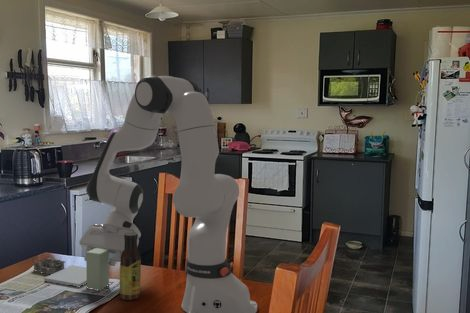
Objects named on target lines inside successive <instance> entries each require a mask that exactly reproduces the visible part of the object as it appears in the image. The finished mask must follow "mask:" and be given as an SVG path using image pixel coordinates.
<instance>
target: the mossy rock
mask: <svg viewBox="0 0 470 313" xmlns="http://www.w3.org/2000/svg"><path fill="white" fill-rule="evenodd" d="M32 262H34V265H33V271H34V270H40V271H39V273H40V272H47V273H46V275H47V274H54V273H56V272H58V271H60V270H63V269H65V263H66V260H61V259H58V258H56V259H55V258H54V257H48V258H44V259H43V260H42V259H41V260H40V261H39V262H38V260H35V259H32Z"/></svg>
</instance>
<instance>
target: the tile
mask: <svg viewBox="0 0 470 313" xmlns="http://www.w3.org/2000/svg"><path fill="white" fill-rule="evenodd" d="M43 281H44V282H45V281H47V282H46V283H51V282H53V283H52V284H56V283H60V284H59V285H62V284H66V285H65V286H67V285H73V286H78V287H79V286H81V285H83V284H85V283H87V272H86V267H85V266H81V265H80V266H79V265H74V264H73V265H69V266H67V267H66V268H65V267H64V269H63V270H60V271H58V272H56V273H54V274H52V275H46V276H45V277H43ZM85 285H86V284H85ZM83 286H84V285H83ZM78 287H77V288H78ZM81 287H82V286H81ZM79 288H80V287H79Z"/></svg>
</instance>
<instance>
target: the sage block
mask: <svg viewBox="0 0 470 313" xmlns="http://www.w3.org/2000/svg"><path fill="white" fill-rule="evenodd" d="M85 256H86V261H85V263H86V264H85V265H86V272H87V284H86V288H87V287H88V288H93V289H98V290H100V289H102V288H104V287H105V288H107V287H108V286H107V285H109V286H110V265H109V261H110V253H109V250H107V249H100V248H95V249H92V250H90V251H88V252H86V251H85ZM106 286H107V287H106ZM105 288H104V289H105ZM98 290H97V291H98ZM102 290H103V289H102ZM100 291H101V290H100Z"/></svg>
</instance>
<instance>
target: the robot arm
mask: <svg viewBox="0 0 470 313" xmlns="http://www.w3.org/2000/svg"><path fill="white" fill-rule="evenodd" d="M164 114H170V115H172V116H173V118H174V120H175V126H176V131H177V138H178V144H179V150H180V156H181V166H180V167H181V169H180V170H181V171H180V177H179V182H178V185H177V187H176V188H175V190H174V192H173V196H172V197H173V198H172V200H173V202H172V203H173V206H174V208H175V209H176V211H177V213H179V214H180V215H181V216H183V217H186V218H195V220H194V223H193V224H192V227H191V228H190V230H189V232H188V234H187V235H188V236H187V238H188V239H187V258H186V262H185V264H186V265H185V277H186V284H185V289H184V294H183V299H182V303H181V304H180V306H181V309H182V310H183V311H184V312H185V313H257V312H258V303H257V302H256V301H255V300H251V294H250V291H249V287H248V286H247V285H246V284H245V283H243V282H242V281H241V280H240V279H239V278H238V277H237V276H235V275H234V274H233V272H232V267H233V263H234V262H233V261H232V262H228V260H227V258H226V252H227V251H226V248H227V247H226V246H227V244H226V243H227V232H228V227H229V224H230V219H231V215H232V212H233V209H234V205H235V203H236V202H237V200H238V198H239V196H240V187H239V184H238V182H237V180H236V179H235V178H234V177H232V176H230V175H227V174H223V173H215V170H216V169H215V168H216V162H217V158H218V156H219V155H220V148H219V143H218V142H219V141H218V136H217V130H216V125H215V121H214V117H213V112H212V110H211V106H210V104H209V102H208V99H207V96H205V94H203V93H202V92H201V89H200V87H199V85H198V84H197V83H196V82H195V81H193V80H191V79H189V78H185V77H183V78H181V77H175V76H172V75H158V76H157V75H149V76H148V75H147V76H145V77H142V78H141V79H140V80H139V81H138V82H137V83H136V86H135V89H134V93H133V95H132V97H131V99H130V101H129V104H128V108H127V110H126V114H125V118H124V122H123V124H122V126H121V127H120V128H119V129H116V130H114V131H113V132H112V133H111V134H110V136H109V137H108V139H107V141H106V143H105V146H104V148H103V149H102V152H101V155H100V157H99V159H98V162H97V164H96V165H95V166H96V167H95V169H94V171H93V173H92V175H91V177H90V179H89V181H88V182H87V184H86V189H85V190H86V194H87V196H88V197H89V200H91V201H94V202H96V203H101V204H102V203H103V204H106V205H109V206H111V207H112V209H111V210H110V211H109V212H108V214H107V216H106V218H105V220H104V222H103V223H102V224H98V223H93V224H92V225H89V226H88V228H87V230H86V231H85V232H84V233H83V235H82V236H81V238H80V240H79V242H78V243H79V245H80V247H81V248H82V249H83V250H85V253H86V252H88V251H90V250H92V249H95V248H100V249H107V250H109V254H114V257H113V258H109V266H112V267H115V266H116V263H117V262H118V261H121V254H122V252H123V251H124V249H125V247H124V246H125V239H124V234H125V233H137V234H138V238H137V248H138V246H139V243H140V238H141V236H142V233H141V231H140V229H139V227H138V226H136V224H135V223H133V221H134V219H135V217H136V216H137V214H138V212H140V211H139V210H140V209H141V207H142V205H143V203H144V198H145V193H144V190H143V189H142V187H141V185H140V184H138V183H136V182H134V181H130V180H129V179H124V178H120V177H117V176H115V175H112V174H111V173H110V170H111V169H112V168H111V167H112V165H113V163H114V160H115V158H116V156H117V154H118V153H119V152H127V151H141V150H143V149H147V148H148V147H150V146H152V144H153V143H154V142H155V141H156V138H157V135H158V132H159V130H160V129H159V128H160V125H161V121H162V117H163V115H164ZM83 261H85V262H86V255H85V256H84V260H83Z"/></svg>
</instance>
